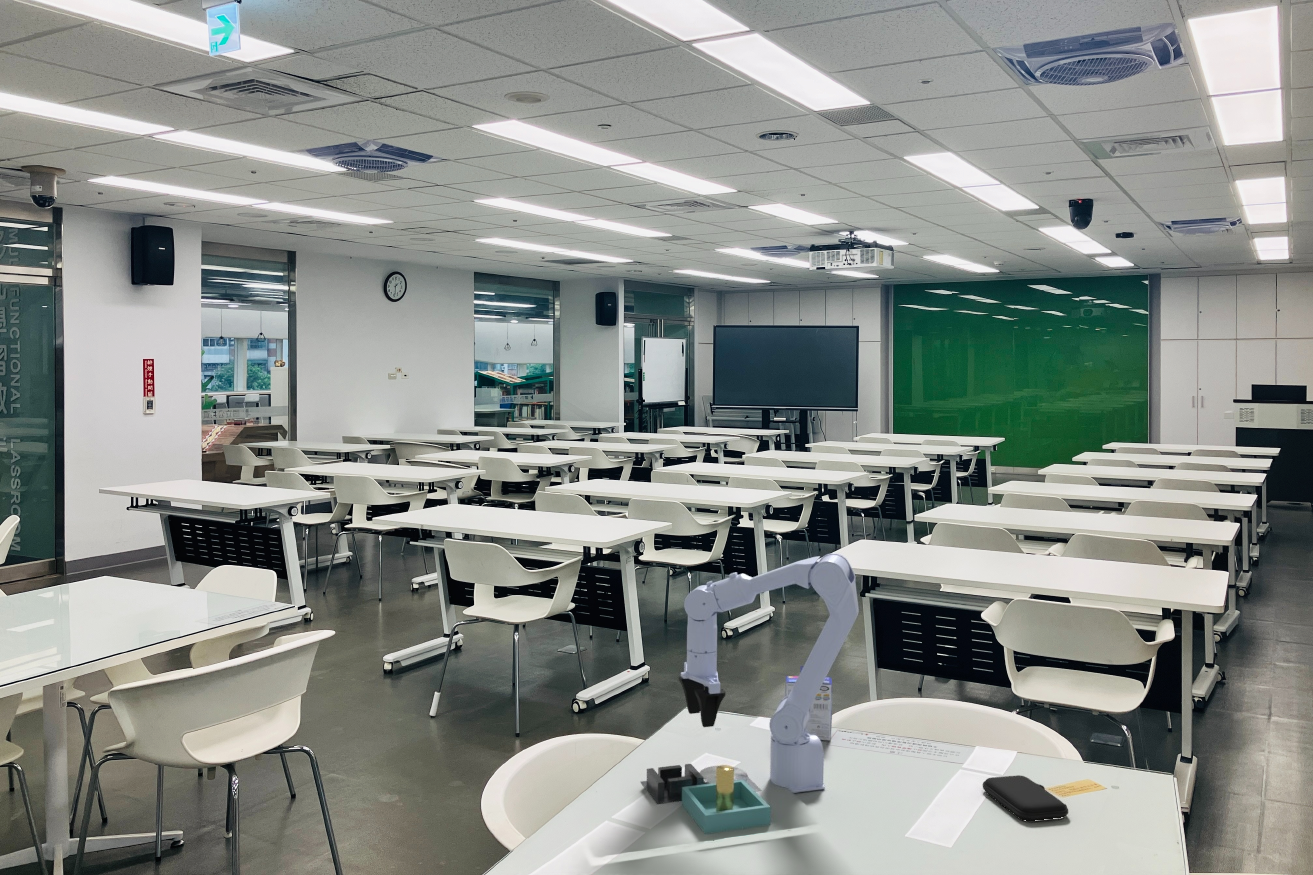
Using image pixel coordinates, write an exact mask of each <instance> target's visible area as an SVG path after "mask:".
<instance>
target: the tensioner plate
mask: <svg viewBox="0 0 1313 875" xmlns="http://www.w3.org/2000/svg"><path fill="white" fill-rule="evenodd" d="M718 766H719V765H711V766H708V767H705V768H703V769H701V770H700V771H698V769H697V768H695V766H694V765H693V764H692V763H685V764H684V775H683V767H682V766H681V765H680V764H678V765H668V766H660V767H658V768H657V771H656V770H655V769H654V768H653V767H650V768H646V780H642V781H640V784H641V785H642V786H643V788H644V789H645V790H646V792H647V793H648V794H649V796H650V797H651V798H652V800H653V801H654V802H655V804H656V805H661V804H662V805H663V804H669V803H676V802H677V803H678V802H682V787H688V786H696V785H704V784H712V783H716V768H717V767H718ZM732 767H733V768H734V781H736V780H744V781H745V782H746V783H747V784H748V785H749V786H750V787H751V788H752V789H753V790H754V791H755V792H756V793H757V792H761V791H763V790H762V789H761V788H760V787H759V786H758V785H757V784H756V783H755V782H754V781H753V780H752V779H751V778H750V777H749V776H748V773H747V772H746V771H745V770H743V769H741V768H738V767H736V766H732Z"/></svg>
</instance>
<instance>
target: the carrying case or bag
mask: <svg viewBox="0 0 1313 875" xmlns="http://www.w3.org/2000/svg"><path fill="white" fill-rule="evenodd" d="M982 789H983V791H985V793H986V794H987V793H988V794H989V795H988V794H987V795H988V796H989V797H991V796H992V797H993V798H994V799H993V798H992V797H991V798H992V799H993V800H995V799H996V800H997V801H998V802H999V803H998V802H997V801H996V800H995V801H996V802H997V803H998V804H1000V803H1001V804H1002V805H1003V806H1005V807H1006V808H1007V809H1008V810H1007V809H1006V808H1005V807H1004V808H1005V809H1006V810H1007V811H1009V810H1010V811H1011V812H1012V813H1011V812H1010V811H1009V812H1010V813H1011V814H1013V813H1014V814H1015V815H1016V816H1017V817H1016V818H1018V817H1019V818H1020V819H1019V818H1018V819H1019V820H1021V819H1022V820H1021V821H1023V820H1026V821H1035V820H1044V819H1053V818H1061V817H1064V818H1065V817H1067V816H1068V814H1069V808H1068V806H1067V804H1066V803H1064V802H1063V801H1061V800H1060V799H1059V798H1058V797H1056V796H1055V795H1054V794H1052V793H1051V792H1049V791H1048V790H1046V789H1045V786H1044V785H1042V784H1039V783H1036V782H1035V781H1033V780H1031V779H1030V778H1028V777H1027V776H1024V775H1018V774H1017V775H1007V776H996V777H988V778H986V779H985V781H983V783H982ZM1001 804H1000V805H1001ZM1002 805H1001V806H1002ZM1003 806H1002V807H1003ZM1014 814H1013V815H1014ZM1015 815H1014V816H1015ZM1026 821H1025V822H1026Z"/></svg>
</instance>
